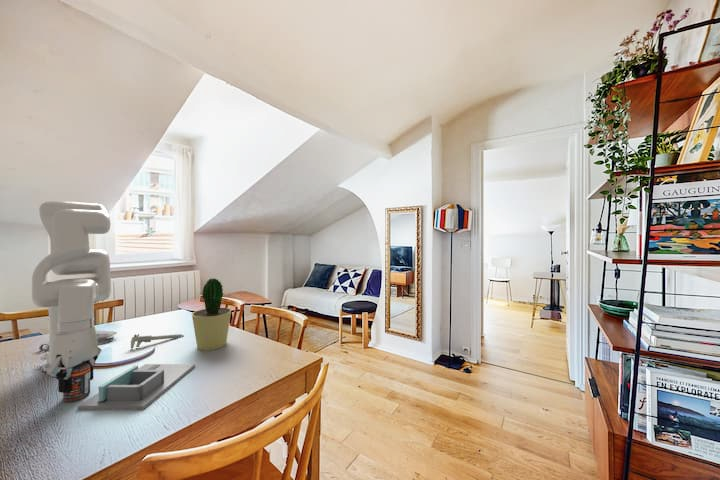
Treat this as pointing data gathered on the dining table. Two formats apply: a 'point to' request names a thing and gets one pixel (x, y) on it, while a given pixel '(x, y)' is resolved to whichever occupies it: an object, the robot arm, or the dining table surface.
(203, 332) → the potted cactus
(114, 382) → the bar
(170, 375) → the housing
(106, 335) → the car model
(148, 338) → the caliper
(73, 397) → the supplement bottle
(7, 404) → the dining table surface
